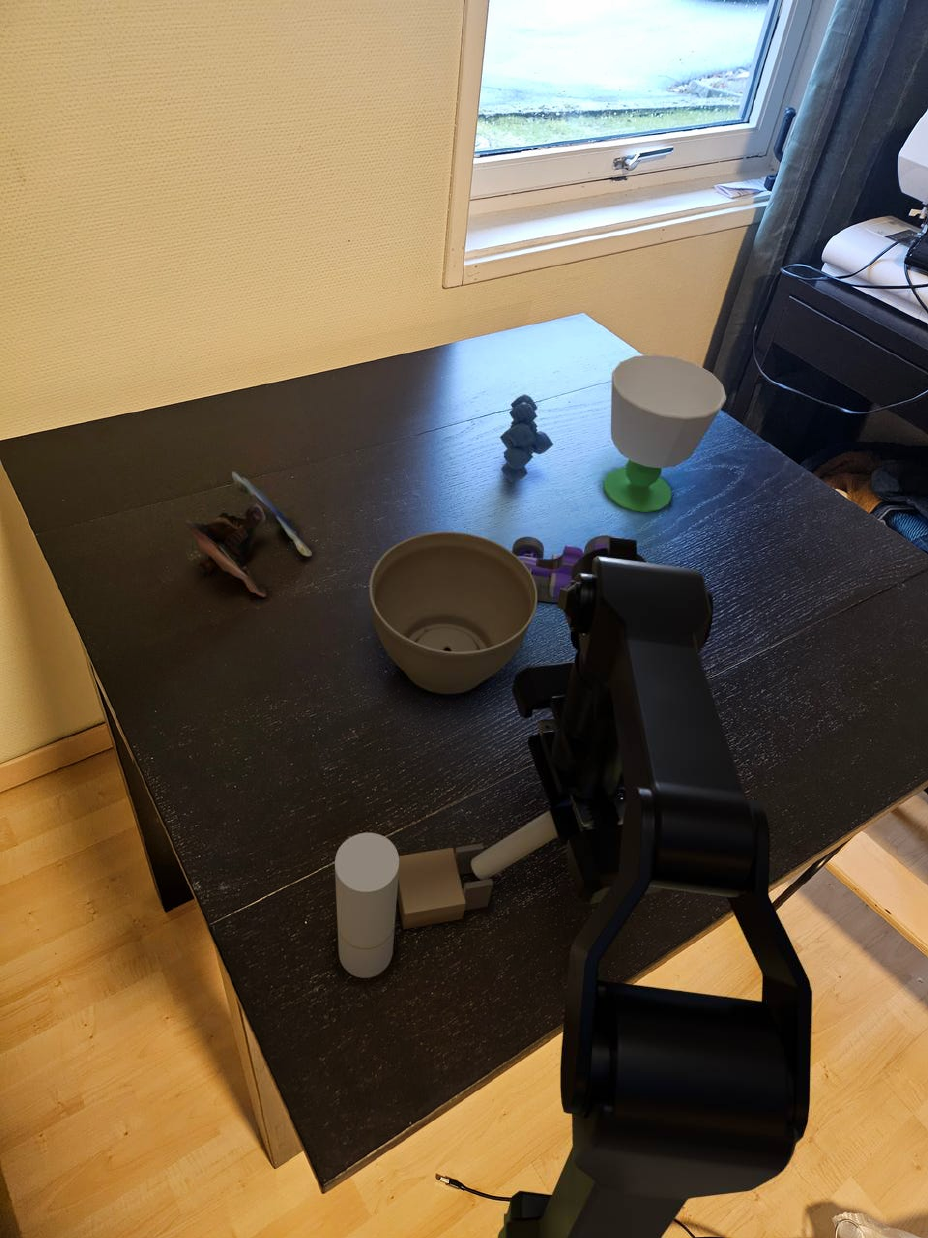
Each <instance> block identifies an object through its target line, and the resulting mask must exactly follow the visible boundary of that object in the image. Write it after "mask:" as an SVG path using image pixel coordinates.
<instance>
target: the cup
mask: <svg viewBox="0 0 928 1238" xmlns="http://www.w3.org/2000/svg"><path fill="white" fill-rule="evenodd" d="M726 400H727V395H726V391H725V386H724V384H723V383H722V382H721V381H720V380H719V379H718V378H717V376H715V375H714V374H713V373H712V372H710V370H707V369H705V368H703V367H702V366H701V365H699V364H697V363H695V362H692V361H689V360H685V359H683V358H680V357H677V356H672V355H663V354H656V353H652V354H642V355H634V356H631V357H629V358H627V359H625V360H622V361H620V362H618V364H617V365H616V366H615V368H614V369H613V371H611V393H610V439H611V441H612V443H613V446H614V447H615V448H616V450H617V451H618V452H619V454H620V455H622V456H623V457H625V458H626V459H628V460H627V462H626V464H625V467H623V468H617V469H614V470H613V471H611V472H609V473H608V474H606V476H605V478H604V479H603V491H604V492H605V494H606V495H607V497H608V498H609V499H610V500H611V501H612V502H614V503H615V504H616V505H618V506H619V507H622V508H624V509H627V510H630V511H632V512H640V513H641V512H642V513H651V512H657V511H660V510H661V509H663V508H665V507H667V506H668V505H669V503H670V502H671V500H672V497H673V496H672V490H671V489H672V488H671V487H670V486H669V485H668V483H667V482H666V481H665V479H663V478H661V476H662V475H661V474H662V469H666V468H667V469H668V468H674V467H676V466H677V467H678V466H679V465H681V464H683V463H684V462H686V461H688V460H689V459H690V458H691V457H692V456H693V454H694V453H695V451H696V449H697V448H698V446H699V445H700V443H701V441H702V439H704V437H705V435H706V433H707V432H708V430H709V429H710V427H711V425H712V424H713V422H714V421H715V419H716V417H717V415H718V414H719V412H720V411H721V410H722V408H723V406H724V404H725V403H726Z"/></svg>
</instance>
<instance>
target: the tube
mask: <svg viewBox="0 0 928 1238" xmlns="http://www.w3.org/2000/svg"><path fill="white" fill-rule="evenodd" d="M399 856H400V855H399V852H398V850H397V847H396V846H395V845H394V843H393V842H392V841H391V840H390V839H389V838H387V837H386V836H384V835H381V834H379V833H375V832H360V833H357V834H355V835H352V836H350V837H349V838H347V839H346V840H345V841H343V843H342V844H341V845H340V846H339V848H338V850H337V852H336V855H335V859H334V875H335V876H334V877H335V899H336V918H337V919H336V920H337V923H336V924H337V943H338V957H339V958H338V959H339V961H340V963H341V965H342V967H343V968H344V970H345V971H346V972H347V973H349V974H350V975H352V976H354V977H357V978H361V979H365V978H366V979H368V978H374V977H376V976H378V975H380V974H381V973H383V972H384V971H385V970H386V969H387V968H388V967H389V965H390V963H391V961H392V958H393V955H394V954H393V953H394V941H395V928H396V927H395V926H396V912H397V901H398V898H397V886H398V872H399Z"/></svg>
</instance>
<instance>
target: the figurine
mask: <svg viewBox="0 0 928 1238" xmlns="http://www.w3.org/2000/svg"><path fill="white" fill-rule="evenodd" d="M231 476H232V479H233V482H234V485H235V486H236V487H237V489H238V490H239V491H240V492H241V493H244V494H247V495H248V496H249V498H250V499H252V500H254V499H255V498H254V497H257V498H258V499H259V500H260V502H261V503H263V504H264V505H265V506H266V507H267V508H268V509H269V510H270V511H271V512H272V513H273V514H274V515H275V517H276V519H277V521H279V522H278V523H280V525H281V527H282V529H284V532H285V533H286V534H287V536H288V537H289V538H290V539H291V540H293V543H294V544H295V547H296V549H297V550H298V552H299V553H300V554H301V555H303V556H305V557H311V556H312V555H313V553H312V551H311V549H310V548H309V547H308V546H307V544H306V543H305V542H304V540H302V539H301V537H300V536H299V535H298V531H297V529H296V528H295V527H294V526H293V525H292V523H291V522H290V521H289V519H288V518H286V517H285V516H284V515H283V513H282V512H281V511H280V510H279V509H278V508H277V507H276V506H275V505H274V504H273V502H272V501H270V499H269V498H268V496H267V495H265V493H264V492H263V491H262V490H260V489H258V488H256V486H255V485H253V484H252V483H251V482H250V481H249V480H248V479H247V478H246V477H241V476H240V475H239V474H238V473H237V472H236V471H231ZM265 521H266V515H265V514H264V510H263V508H262V507H261V506H260V505H259V504H258V503H257V502H253V503H252V504H251V505H250V506H249V508H248V509H247V510H246V511H245V518H241V517H236V516H234V515H229V514H228V513H227V512H221V513H220V515H218V517H217V518H216V519H213V520H211V521H210V522H208V523H206V524H204V523H197V522H195V521H191V520H189V519H186V520H185V521H184V522H185V523H184V524H185V525H186V527H187V529H188V530H189V532H190V533H191V535H192V536H193V537H194V538H195V540H196V542H197V543H198V548H200V549H201V550H202V551H203V552H204V553H206V554H207V555H208V559H206V560H205V561H202V562H200V563H199V564H198V567H199V568H200V571H201V572H205V573H206V574H210V573H211V572H212V570H213V568H214V567H215V565H216V564H217V565H218V566H219V568H221V569H222V571H223V572H227V573H230V574H231V576H233V577H235V578H238V579H241V580H242V581H243V582H244V584H245V586H246V587H247V589H248V590H249V591H250V593H253V594H255V593H256V595H258V596H260V597H263V598H265V597H266V596H267V591H266V590H265V588H263V587H262V586H259V585H258V583H257V582H256V580H255V578H254V577H253V576H252V575H251V573H250V571H249V569H248V567H247V566H246V559H247V557H248V556H249V554H251V552H252V550H251V549H252V548H253V544H254V541H255V539H256V535H257V533H256V531H257V527H261V526H262V524H263V523H264V522H265Z"/></svg>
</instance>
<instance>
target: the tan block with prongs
mask: <svg viewBox="0 0 928 1238" xmlns="http://www.w3.org/2000/svg"><path fill="white" fill-rule="evenodd" d="M484 849H485V847H484V843H482V842H480V843H475V844H469V845H461V846H456V847H455V849H454V847H448V848H441V849H436V850H429V851H423V852H417V853H410V854H405V855H398V856H399V872H398V886H397V902H398V909H399V915H400V920H401V925H402V929H403V930H408V929H414V928H419V927H424V926H426V927H427V926H431V925H436V924H442V923H446V922H453V921H458V920H463V919H464V914H465V911H471V910H476V909H477V910H478V909H482V908H487V907H489V904H490V903H489V902H490V899H491V895H492V890H493V887H494V881H493V879H492V878H488V879H487V880H476V881H471V882H465V883H463V884H464V885H463V884H462V880H461V877H460V875H461V876H462V875H468V874H472V873H474V872H473V870H472V866H471V861H472V859H473V858H474V857H476V856H478V855H479V854H481V853H482V852H484V851H485V850H484Z"/></svg>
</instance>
